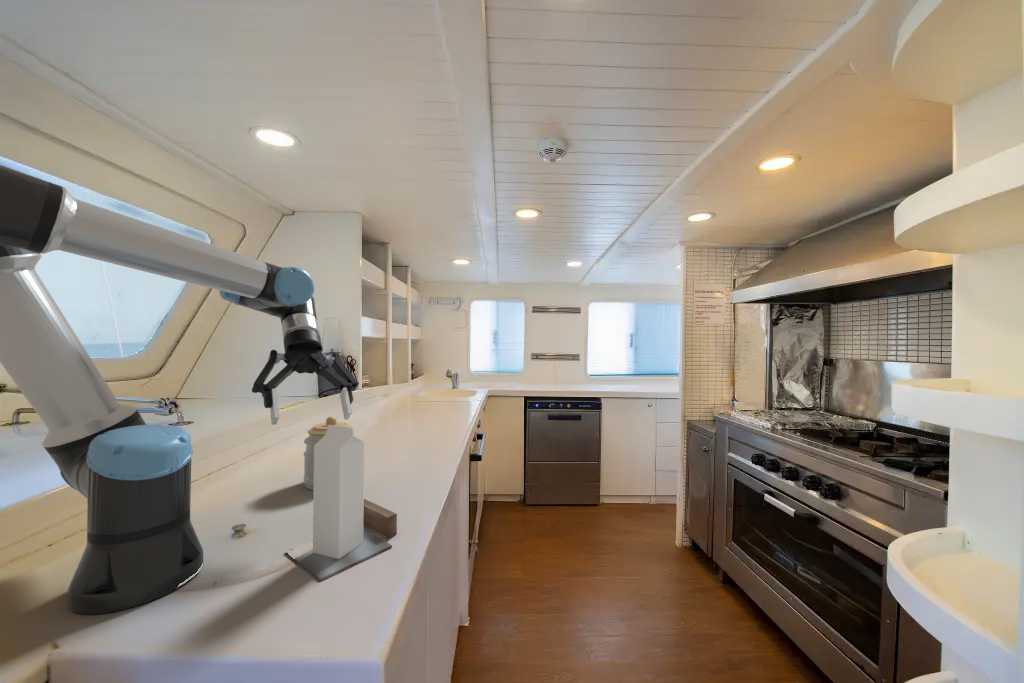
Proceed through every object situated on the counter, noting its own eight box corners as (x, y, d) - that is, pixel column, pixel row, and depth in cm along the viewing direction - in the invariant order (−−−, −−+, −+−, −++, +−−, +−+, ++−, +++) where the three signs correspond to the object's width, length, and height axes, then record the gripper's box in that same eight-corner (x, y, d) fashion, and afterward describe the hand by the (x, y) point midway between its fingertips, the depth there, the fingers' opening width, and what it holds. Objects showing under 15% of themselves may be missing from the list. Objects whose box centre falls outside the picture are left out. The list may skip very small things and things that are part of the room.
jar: (355, 471, 113) (355, 411, 113) (358, 486, 101) (358, 418, 101) (304, 478, 107) (305, 414, 107) (301, 494, 96) (302, 422, 96)
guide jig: (320, 581, 61) (320, 555, 61) (258, 531, 77) (258, 511, 77) (407, 539, 74) (407, 518, 74) (339, 504, 90) (339, 487, 90)
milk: (339, 560, 66) (339, 431, 66) (312, 553, 68) (312, 428, 68) (364, 542, 72) (365, 424, 72) (338, 536, 74) (339, 421, 74)
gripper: (351, 350, 100) (368, 423, 89) (233, 345, 83) (236, 433, 72) (361, 331, 96) (380, 405, 85) (239, 321, 79) (243, 412, 68)
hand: (314, 418), depth 79 cm, fingers open, 13 cm apart
